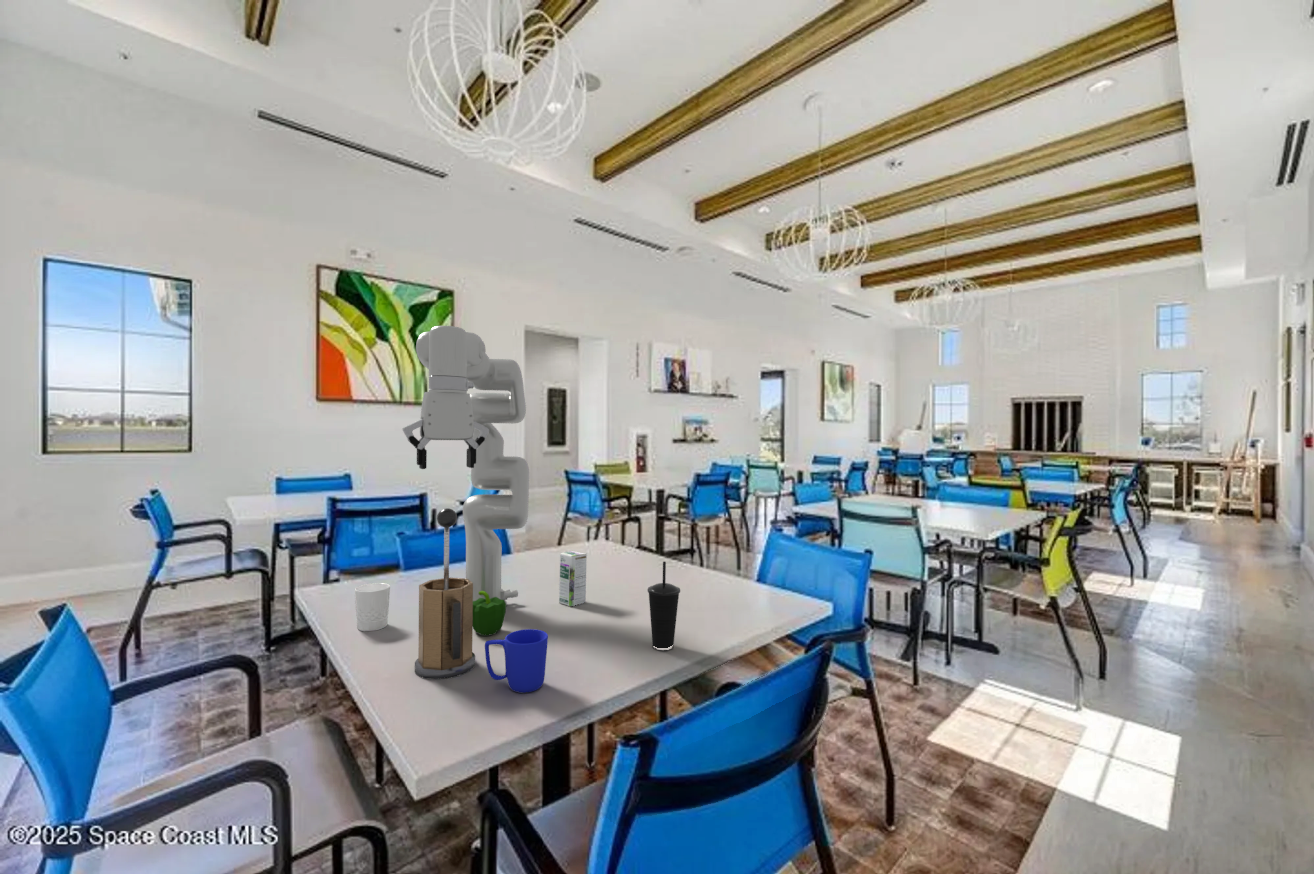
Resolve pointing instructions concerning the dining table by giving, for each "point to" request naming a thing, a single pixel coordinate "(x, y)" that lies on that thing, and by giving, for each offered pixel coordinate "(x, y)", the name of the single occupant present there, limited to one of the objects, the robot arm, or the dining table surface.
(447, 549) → the plunger
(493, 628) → the bell pepper
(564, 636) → the dining table surface
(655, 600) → the drinking cup
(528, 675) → the mug
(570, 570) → the syrup box
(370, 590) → the white cup
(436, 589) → the tan octagonal hollow container
